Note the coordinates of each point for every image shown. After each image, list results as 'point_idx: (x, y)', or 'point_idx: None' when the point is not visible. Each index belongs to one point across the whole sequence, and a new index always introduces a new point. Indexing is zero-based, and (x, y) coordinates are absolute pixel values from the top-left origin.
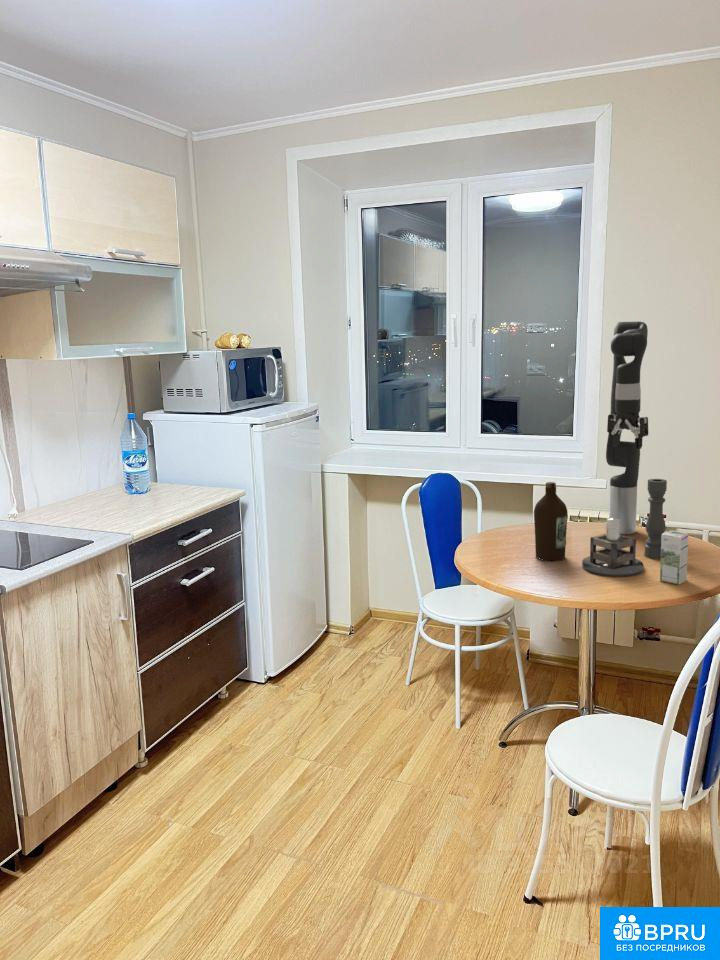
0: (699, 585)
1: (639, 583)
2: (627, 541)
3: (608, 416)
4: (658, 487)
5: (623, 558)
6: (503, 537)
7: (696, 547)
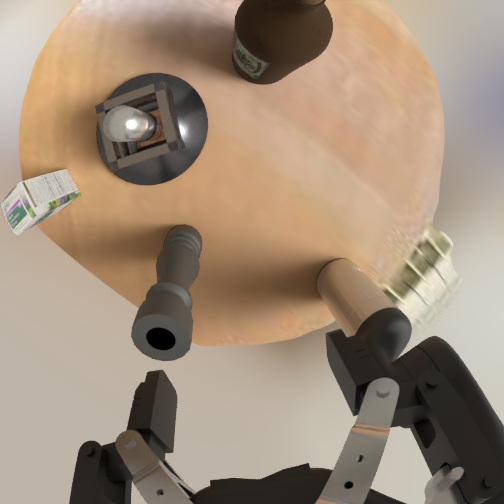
0: None
1: (69, 131)
2: (104, 145)
3: (497, 472)
4: (136, 316)
5: None
6: (403, 73)
7: (203, 328)
